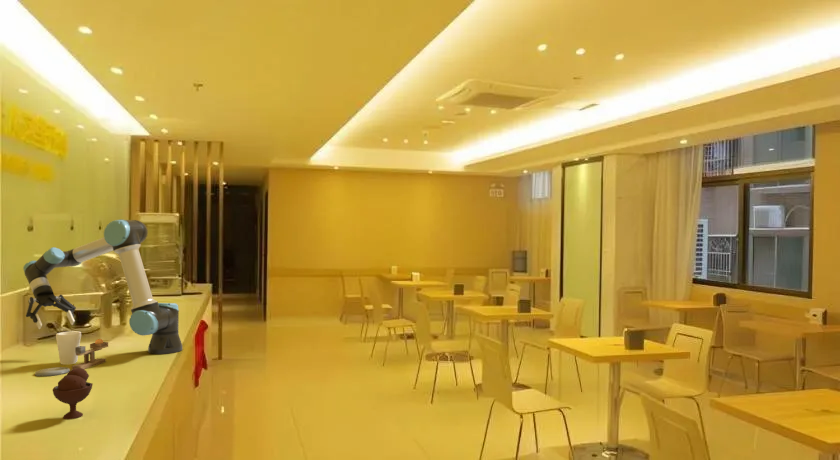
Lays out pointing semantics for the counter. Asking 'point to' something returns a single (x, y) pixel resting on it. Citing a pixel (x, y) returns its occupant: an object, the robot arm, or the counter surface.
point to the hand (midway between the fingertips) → (57, 325)
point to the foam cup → (68, 346)
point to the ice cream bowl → (73, 390)
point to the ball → (99, 341)
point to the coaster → (52, 371)
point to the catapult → (93, 347)
